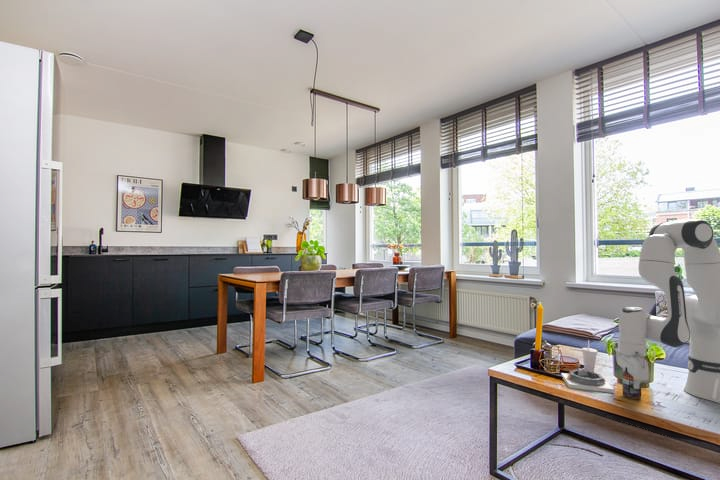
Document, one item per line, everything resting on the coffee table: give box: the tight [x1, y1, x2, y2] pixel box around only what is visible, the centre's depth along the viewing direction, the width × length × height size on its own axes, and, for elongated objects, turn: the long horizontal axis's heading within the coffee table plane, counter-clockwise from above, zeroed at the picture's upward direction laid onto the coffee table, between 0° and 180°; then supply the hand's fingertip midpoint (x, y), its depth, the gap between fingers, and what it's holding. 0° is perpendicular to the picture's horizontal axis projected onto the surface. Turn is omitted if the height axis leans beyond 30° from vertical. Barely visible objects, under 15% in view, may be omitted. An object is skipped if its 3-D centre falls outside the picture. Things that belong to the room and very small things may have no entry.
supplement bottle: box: [622, 367, 642, 400], centre depth 145 cm, size 6×6×11 cm
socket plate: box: [560, 372, 615, 394], centre depth 157 cm, size 16×14×2 cm
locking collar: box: [567, 369, 606, 386], centre depth 157 cm, size 14×12×2 cm
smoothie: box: [581, 339, 599, 372], centre depth 175 cm, size 6×6×14 cm
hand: (631, 384), depth 145 cm, fingers closed on supplement bottle, 6 cm apart
